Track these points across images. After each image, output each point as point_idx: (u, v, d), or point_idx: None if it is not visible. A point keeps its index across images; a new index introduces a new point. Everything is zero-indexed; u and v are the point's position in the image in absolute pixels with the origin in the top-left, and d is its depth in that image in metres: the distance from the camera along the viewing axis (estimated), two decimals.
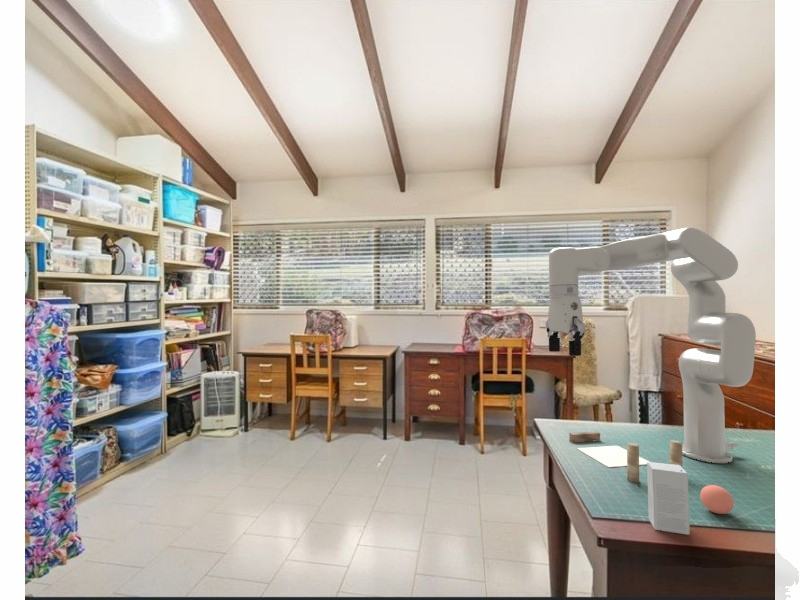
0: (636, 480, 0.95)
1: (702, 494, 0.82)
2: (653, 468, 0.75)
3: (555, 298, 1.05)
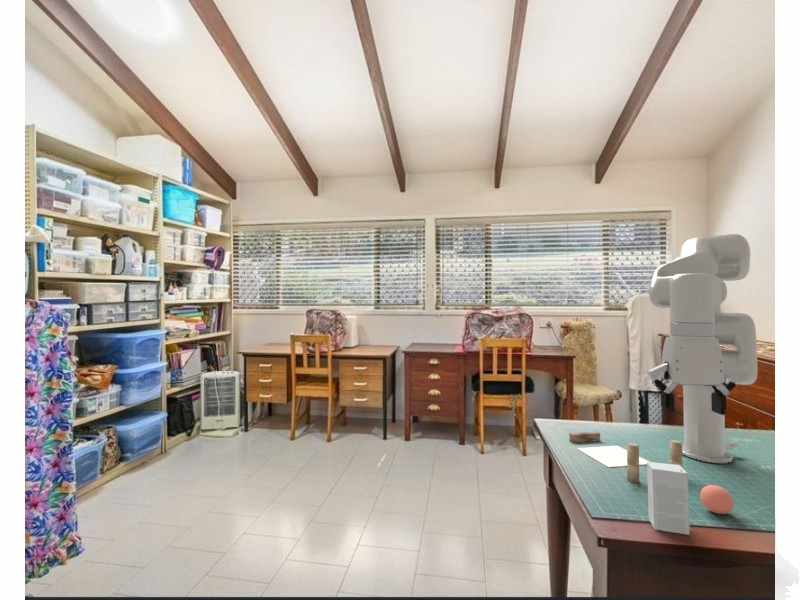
0: (636, 480, 0.95)
1: (702, 494, 0.82)
2: (653, 468, 0.75)
3: (699, 340, 0.78)
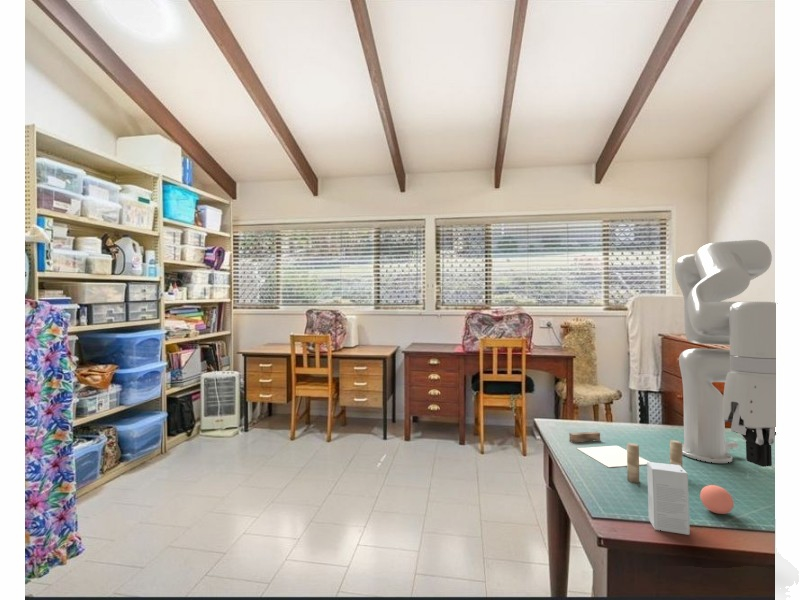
0: (636, 480, 0.95)
1: (702, 494, 0.82)
2: (653, 468, 0.75)
3: (771, 377, 0.69)
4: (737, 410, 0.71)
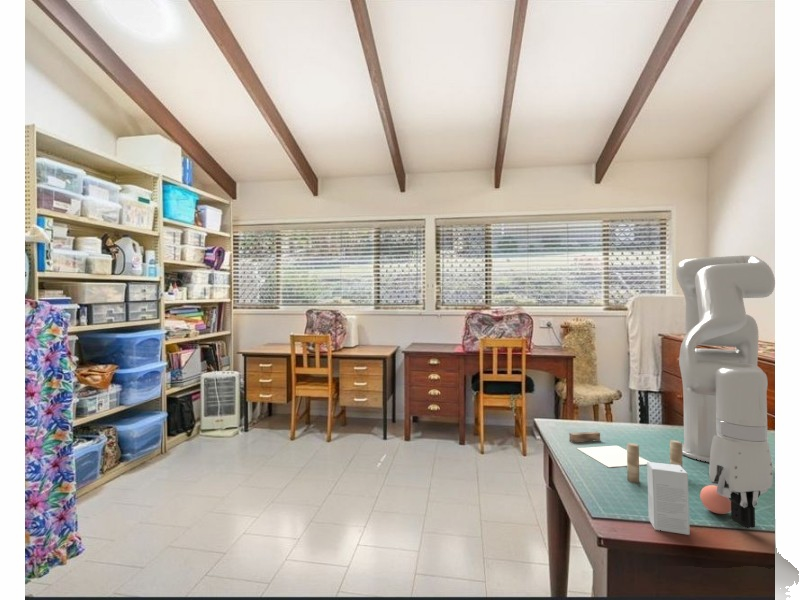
0: (636, 480, 0.95)
1: (702, 494, 0.82)
2: (653, 468, 0.75)
3: (755, 443, 0.72)
4: (723, 474, 0.74)
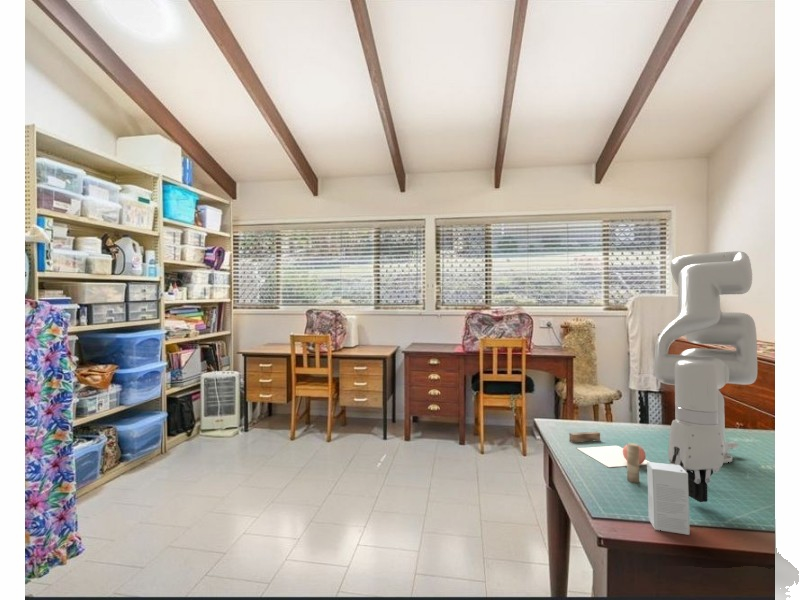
0: (636, 480, 0.95)
1: (626, 458, 1.06)
2: (653, 468, 0.75)
3: (707, 427, 0.82)
4: (679, 454, 0.83)
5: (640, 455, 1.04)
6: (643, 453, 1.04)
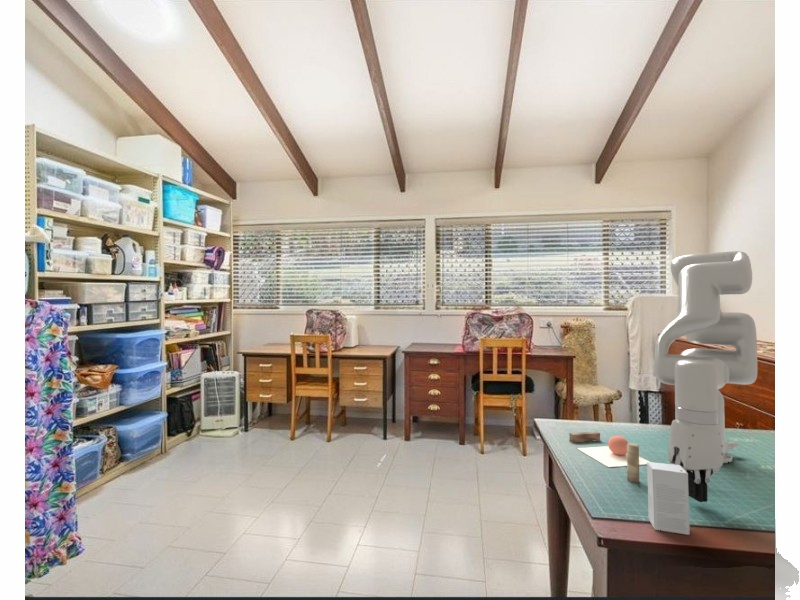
0: (636, 480, 0.95)
1: (611, 442, 1.12)
2: (653, 468, 0.75)
3: (707, 427, 0.82)
4: (679, 454, 0.83)
5: None
6: None
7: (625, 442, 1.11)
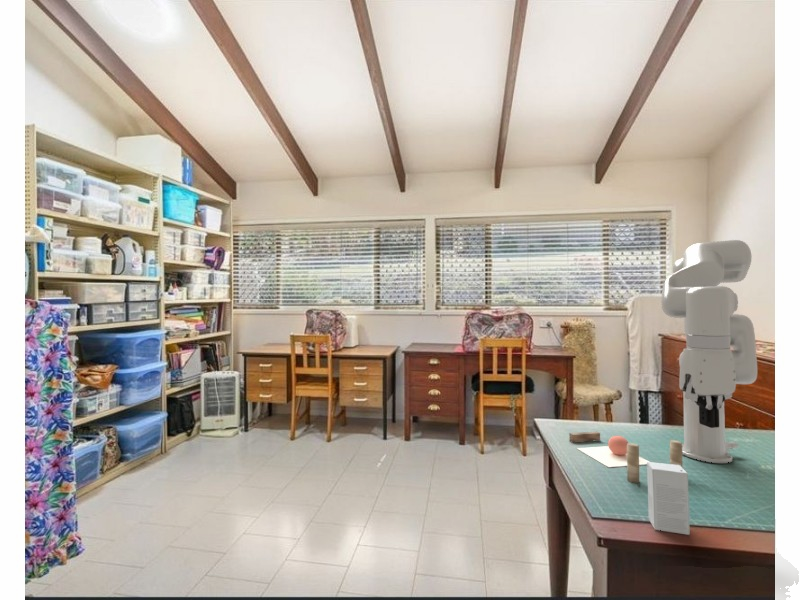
0: (636, 480, 0.95)
1: (611, 442, 1.12)
2: (653, 468, 0.75)
3: (719, 352, 0.81)
4: (690, 381, 0.83)
5: None
6: None
7: (625, 442, 1.11)
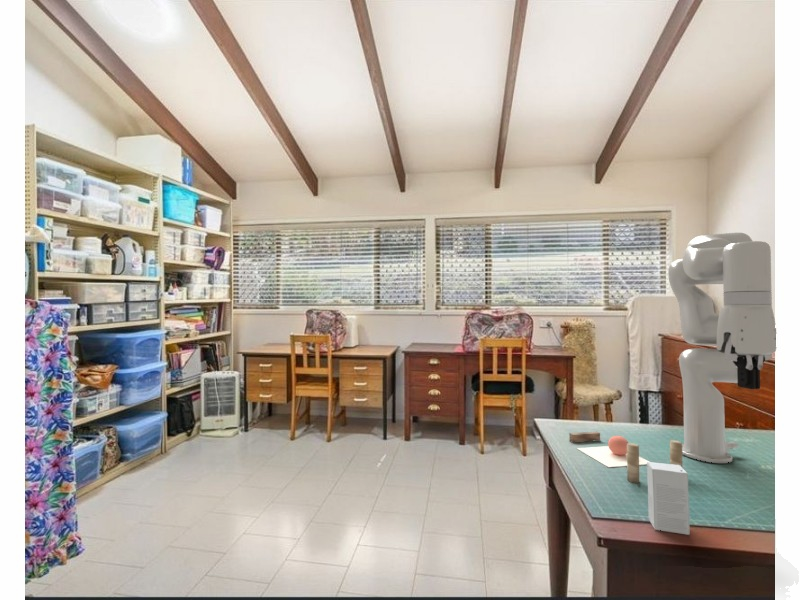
0: (636, 480, 0.95)
1: (611, 442, 1.12)
2: (653, 468, 0.75)
3: (760, 309, 0.77)
4: (729, 340, 0.79)
5: None
6: None
7: (625, 442, 1.11)
